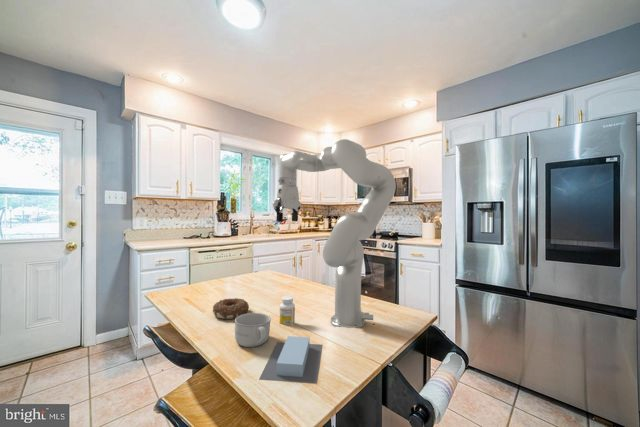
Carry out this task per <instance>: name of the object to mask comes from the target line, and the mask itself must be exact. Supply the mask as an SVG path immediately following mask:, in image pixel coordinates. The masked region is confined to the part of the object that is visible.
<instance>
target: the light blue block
mask: <svg viewBox="0 0 640 427" xmlns="http://www.w3.org/2000/svg"><path fill="white" fill-rule="evenodd" d="M284 343H285V344H284V347H283V349H282V351H281V354H280V356H279V358H278V361H277V363H276V375H281V376H297V377H303V373H304V368H305V364H306V360H307V356H308V351H309V344H310V337H309V336H291V335H290V336H289V335H288V336H287V338H286V340H285V342H284Z"/></svg>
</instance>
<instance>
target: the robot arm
mask: <svg viewBox="0 0 640 427" xmlns="http://www.w3.org/2000/svg"><path fill="white" fill-rule="evenodd" d="M278 162H279V163H278V164H279V167H278V168H279V169H278V171H279V172H278V173H279V175H278V176H279V177H278V187H277V194H276V199H275V200H273V201H272V203H271V204H272V207H273V210H274V212H275V213H276V223H283V220H284V212H283V211H284V209H291V211H292V212H291V221H292V222H299V213H300V210H301V206H302V202H300V197H299V196H300V195H299V189H298V188H299V187H298V186H297V171H303V172H304V171H305V172H308V173H317V172H325V171H329V170H333V169H335V170H336V169H337V170H338V169H341V170H342V171H343V173H345V175H347V176H348V178H350V179H351V181H352V182H354V183H355V184H357V186H358V185H359V186H361V187H365V188H366V187H367V188H371V189H370V190H369V192H368V194H367V195H365V197H364V198H363V200H362V202H361V203H360V206H359V207H358V208H357V210H356V211H355V212H352V213H351V212H350V213H345V214H343V215H342V216H340V217H339V218H338V220H337V221H336V222H335V225H334V226H333V228H332V230H331V232H330V234H329V236H328V237H327V240H326V242H325V243H324V246H323V250H322V258H323V261H324V263H325V264H326V265H327V266H329V267H331V268H336V269H335V278H334V279H335V280H334V281H335V282H334V283H335V284H334V288H335V289H334V290H335V292H334V300H335V301H334V314H333V315H332V316H330V317H331V318H330V323H331V325H333V327H335V328H336V327H339V328H347V329H348V328H350V329H351V328H355V329H356V328H357V329H360V328H363V327H364V326H365V323H366V322H365V321H366V320H367V321H374V314H370V312H364V311H362V306H361V304H362V303H361V302H362V299H361V298H362V269H363V262H364V254H365V252H364V251H365V250H364V246H363V243H362V242H361V241H363V240H367V239H369V238H370V237H371V236H372V235H373V234H374V232H375V230H376V229H377V226H378V225H379V224H380V221H381V219H382V218H383V215H384V214H385V212H386V211H387V208H388V207H389V205H390V204H391V202H392V200H393V198H394V197H395V193H396V188H397V184H396V183H397V182H396V179H395V176H394V174H393V173H392V171H391V170H390V169H389V168H388V167H386V166H385V165H383V164H381V163H379V162H374V161H372V160H370V159H368V158H367V151H366V149H365V148H364V147H363V146H362V145H361V144H359V143H357V142H355V141H353V140H349V139H346V138H344V139H339V140H337V141H336V142H335V143H334V144H333V145H332V146H327V147H325V148H323V149H322V152H321V154H311V153H306V152H304V151H303V152H302V151H300V150H295V151H292V152H289V153H284V154H281V155H280V156H279V160H278Z"/></svg>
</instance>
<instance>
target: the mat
mask: <svg viewBox="0 0 640 427" xmlns="http://www.w3.org/2000/svg"><path fill="white" fill-rule="evenodd" d="M284 344H285V342H283V341H281V342H280V341H278V342H277V341H276V343H275V346H274V348H273V350H272V352H271V353H270V356H269V358H268V360H267V362H266V364H265V366H264V367H263V368H264V369H263V370H262V372H261V375H259V381H260V380H261V381H262V380H263V381H274V382H275V381H276V382H291V383H306V384H318V379H319V371H320V363H321V358H322V351H323V344H321V343H320V344H316V343H309V351H308V356H307V360H306V364H305V368H304V373H303V377H297V376H281V375H276V363H277V361H278V358H279V356H280V354H281V351H282V349H283V347H284Z"/></svg>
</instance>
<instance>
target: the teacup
mask: <svg viewBox="0 0 640 427" xmlns="http://www.w3.org/2000/svg"><path fill="white" fill-rule="evenodd" d="M271 319H272V318H271V317H270V315H268V314H265V313H260V312H259V313H258V312H252V313H251V312H250V313H248V312H247V313H246V314H243V315H240V316H238V317H237V318H234V338H235V341H236V343H237V344H238V345H240V346H242V347H244V348H245V347H246V348H255V347H258V346H261V345H263V344H264V343H266V342H267V340H268V339H269V336H270V330H271Z"/></svg>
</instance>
